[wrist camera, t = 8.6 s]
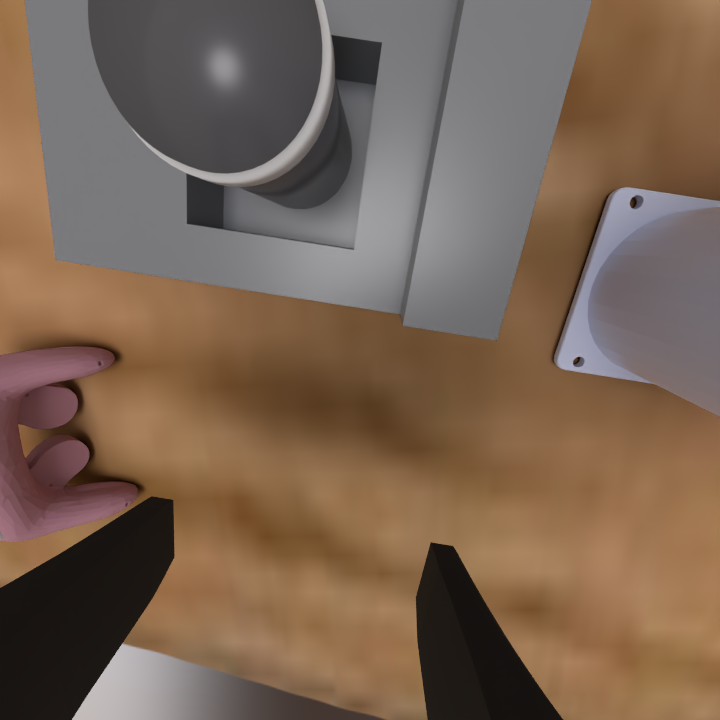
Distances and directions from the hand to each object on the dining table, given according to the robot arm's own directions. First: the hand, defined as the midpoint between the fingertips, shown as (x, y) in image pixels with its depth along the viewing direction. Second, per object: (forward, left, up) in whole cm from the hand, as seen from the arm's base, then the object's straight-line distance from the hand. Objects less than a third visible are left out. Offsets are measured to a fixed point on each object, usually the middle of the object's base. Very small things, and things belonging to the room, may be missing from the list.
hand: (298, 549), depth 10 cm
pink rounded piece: (+14, +4, -10) cm, 18 cm away
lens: (+3, -11, -8) cm, 14 cm away
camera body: (+3, -11, -9) cm, 15 cm away
